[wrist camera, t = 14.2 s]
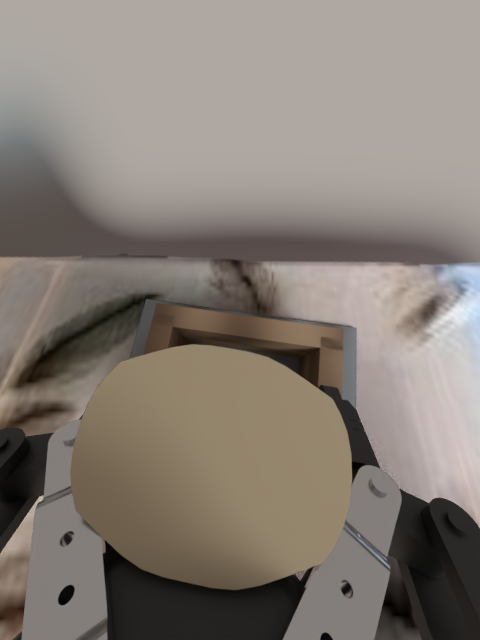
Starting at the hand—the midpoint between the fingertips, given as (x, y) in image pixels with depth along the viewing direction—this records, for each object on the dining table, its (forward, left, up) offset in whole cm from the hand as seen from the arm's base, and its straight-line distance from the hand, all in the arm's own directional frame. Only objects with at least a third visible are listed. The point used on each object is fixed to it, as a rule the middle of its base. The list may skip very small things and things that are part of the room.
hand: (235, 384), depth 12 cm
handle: (0, +2, -9) cm, 9 cm away
